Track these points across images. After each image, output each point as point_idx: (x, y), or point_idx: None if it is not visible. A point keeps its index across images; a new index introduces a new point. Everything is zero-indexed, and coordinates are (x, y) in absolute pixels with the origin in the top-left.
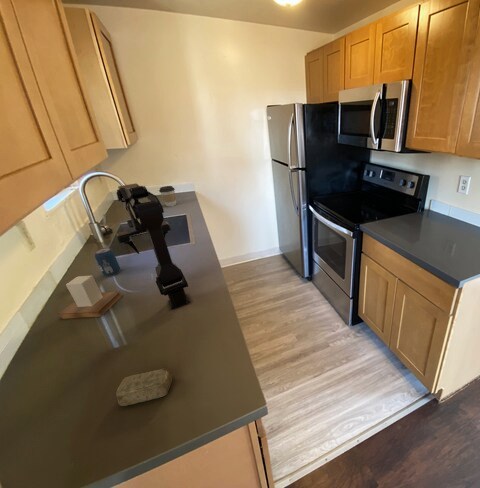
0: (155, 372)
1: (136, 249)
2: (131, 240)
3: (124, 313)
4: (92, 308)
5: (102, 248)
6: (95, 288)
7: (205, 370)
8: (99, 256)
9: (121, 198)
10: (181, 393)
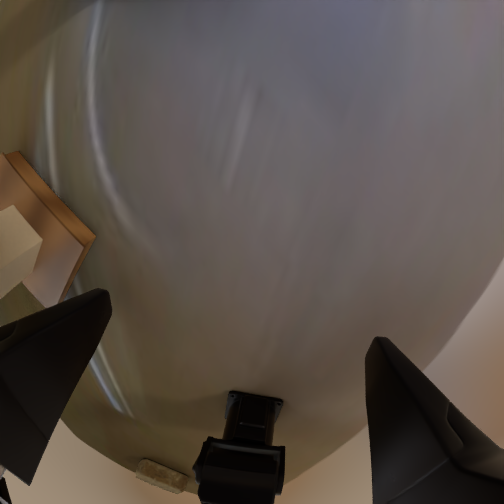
0: (171, 488)
1: (74, 373)
2: (11, 472)
3: (114, 340)
4: (35, 285)
5: None
6: (7, 271)
7: None
8: None
9: None
10: (193, 482)
